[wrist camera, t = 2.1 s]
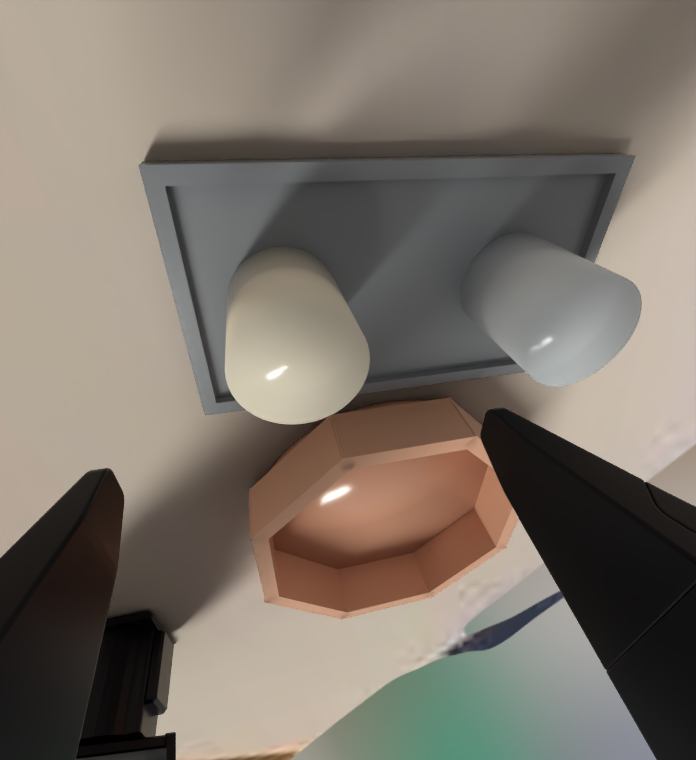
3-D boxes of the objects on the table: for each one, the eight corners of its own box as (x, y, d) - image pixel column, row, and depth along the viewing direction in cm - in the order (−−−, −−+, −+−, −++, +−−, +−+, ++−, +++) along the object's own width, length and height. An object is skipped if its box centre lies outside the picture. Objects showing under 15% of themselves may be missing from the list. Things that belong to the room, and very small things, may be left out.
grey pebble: (452, 330, 19) (510, 393, 15) (471, 234, 16) (547, 281, 12) (534, 321, 20) (610, 378, 16) (564, 229, 17) (663, 270, 13)
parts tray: (205, 404, 18) (204, 415, 18) (143, 161, 13) (138, 165, 12) (544, 360, 22) (553, 368, 21) (619, 153, 16) (635, 155, 15)
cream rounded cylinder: (236, 353, 17) (237, 433, 13) (217, 249, 14) (211, 310, 10) (337, 342, 18) (366, 414, 14) (337, 243, 15) (373, 296, 11)
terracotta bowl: (268, 582, 29) (272, 636, 26) (235, 419, 19) (235, 475, 17) (467, 538, 32) (490, 582, 29) (520, 379, 22) (562, 421, 20)
